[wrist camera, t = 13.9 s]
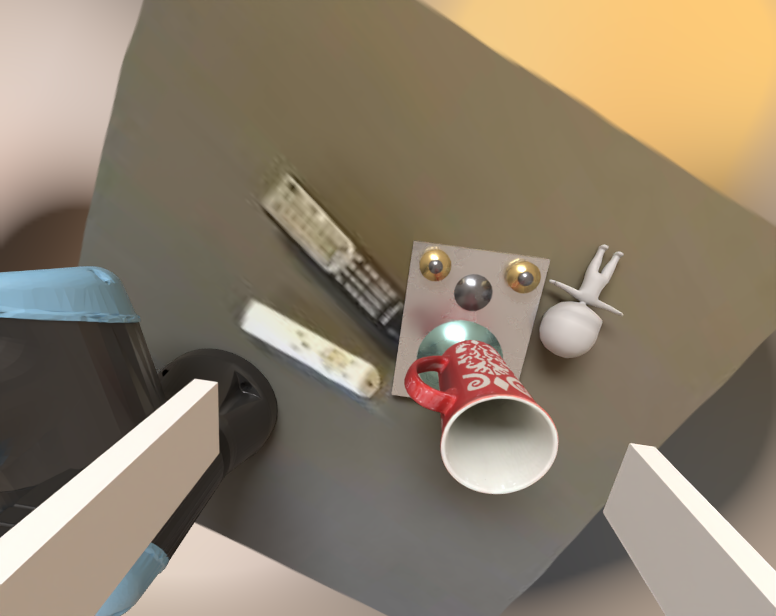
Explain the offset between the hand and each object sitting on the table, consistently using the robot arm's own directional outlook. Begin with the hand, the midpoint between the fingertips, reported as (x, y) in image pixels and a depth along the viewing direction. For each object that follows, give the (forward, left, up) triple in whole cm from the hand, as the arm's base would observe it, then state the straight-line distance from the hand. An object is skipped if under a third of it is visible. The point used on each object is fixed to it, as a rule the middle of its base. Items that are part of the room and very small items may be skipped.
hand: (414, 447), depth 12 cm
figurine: (+20, +5, -29) cm, 35 cm away
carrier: (+6, -6, -29) cm, 30 cm away
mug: (+6, -9, -28) cm, 30 cm away
